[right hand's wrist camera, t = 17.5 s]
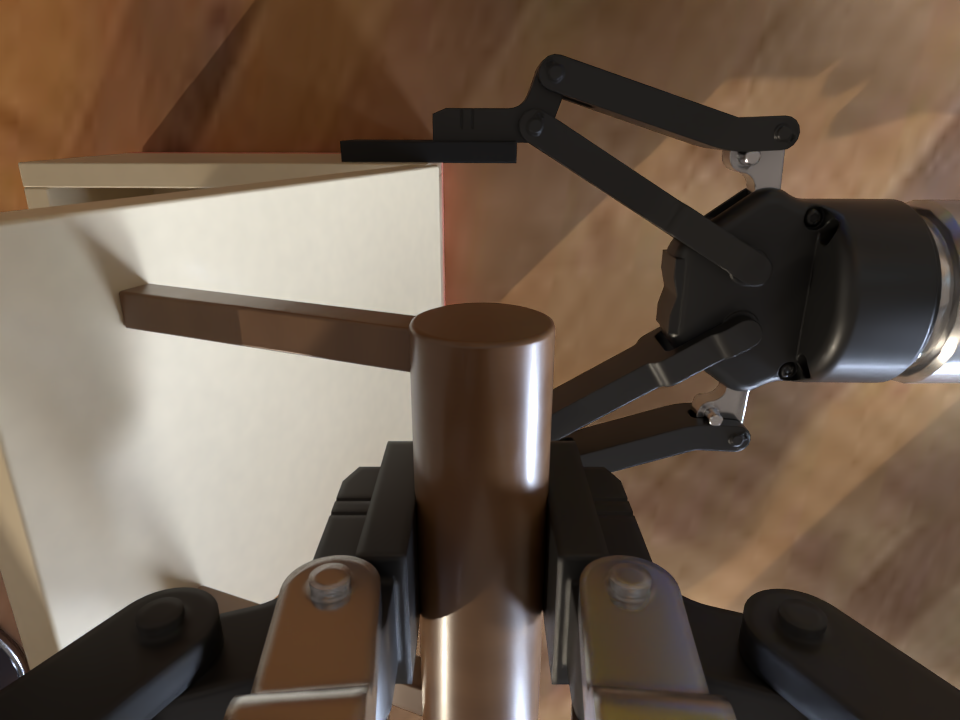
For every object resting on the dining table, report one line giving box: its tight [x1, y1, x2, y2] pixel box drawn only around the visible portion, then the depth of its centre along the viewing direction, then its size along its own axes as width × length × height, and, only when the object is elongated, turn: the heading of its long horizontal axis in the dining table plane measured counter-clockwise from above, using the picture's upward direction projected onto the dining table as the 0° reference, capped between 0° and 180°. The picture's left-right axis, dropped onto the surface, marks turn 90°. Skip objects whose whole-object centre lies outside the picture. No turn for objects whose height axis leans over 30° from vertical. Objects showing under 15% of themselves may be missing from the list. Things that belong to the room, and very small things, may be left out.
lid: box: [0, 165, 556, 720], centre depth 16 cm, size 16×10×9 cm
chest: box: [18, 152, 445, 307], centre depth 29 cm, size 15×10×9 cm
